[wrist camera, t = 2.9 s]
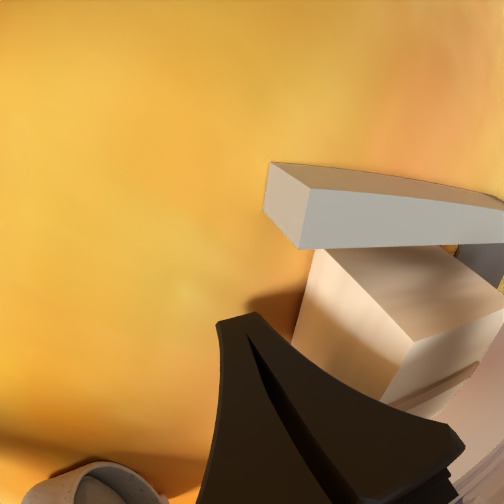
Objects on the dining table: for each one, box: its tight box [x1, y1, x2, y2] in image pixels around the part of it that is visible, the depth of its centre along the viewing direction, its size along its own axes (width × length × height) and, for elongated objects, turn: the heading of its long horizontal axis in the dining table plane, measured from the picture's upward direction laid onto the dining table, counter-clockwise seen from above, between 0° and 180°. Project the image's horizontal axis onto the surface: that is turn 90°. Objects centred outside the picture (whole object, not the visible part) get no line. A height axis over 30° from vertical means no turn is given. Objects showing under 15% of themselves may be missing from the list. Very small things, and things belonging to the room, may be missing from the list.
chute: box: [263, 162, 504, 250], centre depth 12 cm, size 13×11×3 cm
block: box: [291, 245, 504, 419], centre depth 11 cm, size 6×6×5 cm
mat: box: [455, 243, 504, 289], centre depth 16 cm, size 8×10×1 cm
